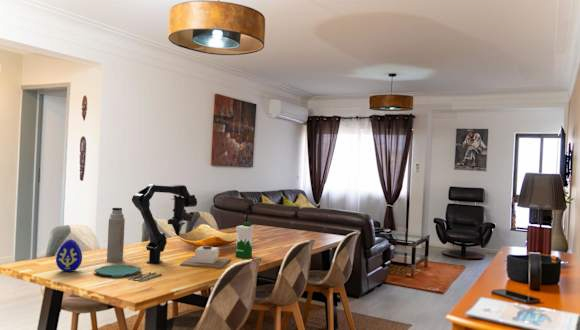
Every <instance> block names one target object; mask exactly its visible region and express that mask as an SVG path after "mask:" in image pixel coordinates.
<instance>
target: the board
mask: <svg viewBox="0 0 580 330" xmlns="http://www.w3.org/2000/svg"><path fill="white" fill-rule="evenodd" d="M231 261H232V258H231V257H230V258H229V257H219V256H218V260H217V261H216V262H214V263H199V262H195V255H192V256H191V257H188V258H187V259H185V260H183V261H182V262H180V263H179V266H180V267H181V266H182V267H192V268H193V267H194V268H207V269H208V268H209V269H223V268H224V267H225V266H226V265H227V264H228V263H229V262H231Z"/></svg>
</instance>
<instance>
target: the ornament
mask: <svg viewBox="0 0 580 330" xmlns="http://www.w3.org/2000/svg"><path fill="white" fill-rule="evenodd" d="M82 260H83V253H82V250H81V248H80V245H79V244H78V243H77V241H76V240H73V239H68V240H66V241H64V242H63V243H62V245H61V246H60V247H59V249H58V251H57V253H56V256H55V264H56V266H57V267H58V269H59V270H60V271H62V272H67V273H70V272H74V271H75V270H77V269H79V267H80V266H81V264H82V262H83V261H82Z"/></svg>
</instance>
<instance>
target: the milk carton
mask: <svg viewBox="0 0 580 330" xmlns="http://www.w3.org/2000/svg"><path fill="white" fill-rule="evenodd" d="M254 227H255V226H253V225H251V222H249V221H248V222H247V221H244V222H243V225H237V226H236V227H235V229H236V244H235V245H236V246H235V256H234V257H235V258H240V259H249V258H252V257H253V234H254Z"/></svg>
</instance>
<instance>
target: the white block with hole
mask: <svg viewBox="0 0 580 330" xmlns="http://www.w3.org/2000/svg"><path fill="white" fill-rule="evenodd" d="M203 246H204V245H201V246H199V247H197V248H196V249H195V250H194V251H195V252H194V253H195V254H194V256H195V262H199V263H214V262H216V261H217V260H218V257H219V247H218V246H217V247H214V246H212V247H211V249H204V248H203Z"/></svg>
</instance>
